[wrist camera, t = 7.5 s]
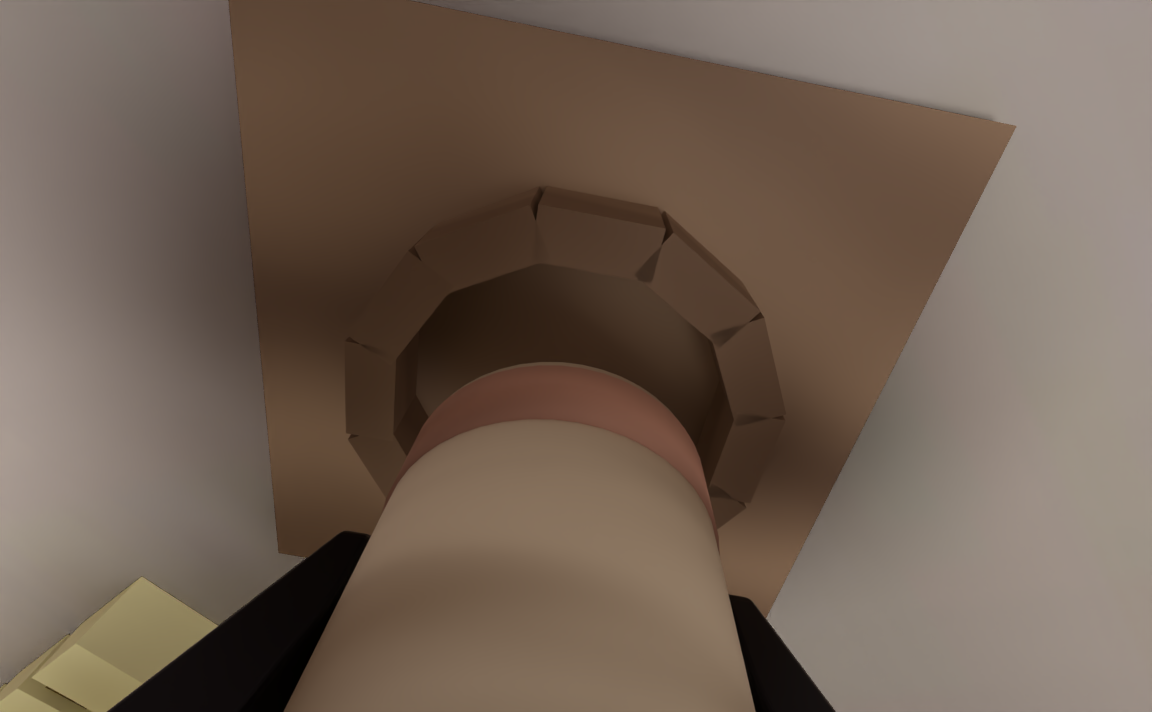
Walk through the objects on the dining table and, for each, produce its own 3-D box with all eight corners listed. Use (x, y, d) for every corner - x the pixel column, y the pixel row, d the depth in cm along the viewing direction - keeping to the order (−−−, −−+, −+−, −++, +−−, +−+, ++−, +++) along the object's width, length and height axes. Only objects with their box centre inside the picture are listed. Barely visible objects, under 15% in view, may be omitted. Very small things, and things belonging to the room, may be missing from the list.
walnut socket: (754, 613, 17) (773, 684, 15) (288, 537, 16) (246, 601, 14) (995, 122, 11) (1083, 136, 9) (244, -33, 10) (158, -55, 8)
